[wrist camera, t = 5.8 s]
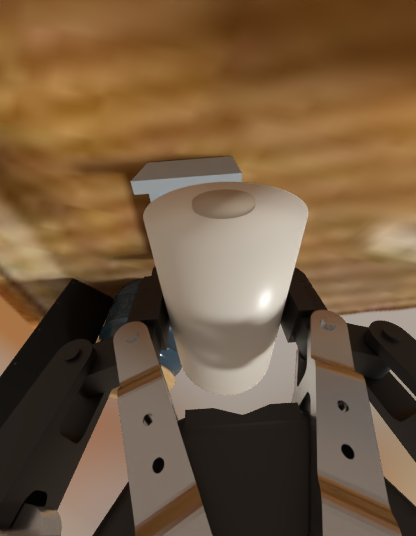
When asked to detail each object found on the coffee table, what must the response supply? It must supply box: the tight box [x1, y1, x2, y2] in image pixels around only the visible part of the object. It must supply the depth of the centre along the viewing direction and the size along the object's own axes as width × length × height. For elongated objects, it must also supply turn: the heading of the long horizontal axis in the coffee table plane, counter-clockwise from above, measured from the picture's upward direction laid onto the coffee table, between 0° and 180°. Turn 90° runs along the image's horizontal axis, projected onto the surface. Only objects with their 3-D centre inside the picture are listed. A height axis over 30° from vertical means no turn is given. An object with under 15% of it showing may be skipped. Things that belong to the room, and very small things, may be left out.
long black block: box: [0, 279, 114, 428], centre depth 28 cm, size 8×8×28 cm
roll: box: [143, 182, 308, 395], centre depth 10 cm, size 9×6×6 cm
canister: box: [99, 280, 182, 400], centre depth 33 cm, size 13×13×18 cm
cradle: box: [130, 156, 242, 202], centre depth 26 cm, size 10×14×8 cm
